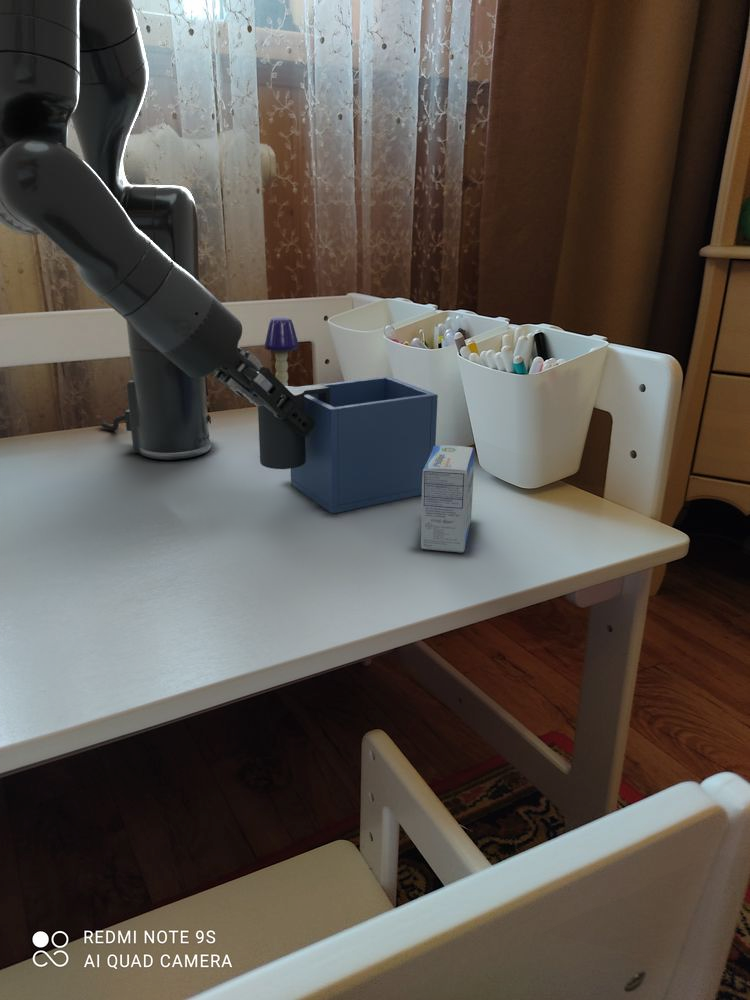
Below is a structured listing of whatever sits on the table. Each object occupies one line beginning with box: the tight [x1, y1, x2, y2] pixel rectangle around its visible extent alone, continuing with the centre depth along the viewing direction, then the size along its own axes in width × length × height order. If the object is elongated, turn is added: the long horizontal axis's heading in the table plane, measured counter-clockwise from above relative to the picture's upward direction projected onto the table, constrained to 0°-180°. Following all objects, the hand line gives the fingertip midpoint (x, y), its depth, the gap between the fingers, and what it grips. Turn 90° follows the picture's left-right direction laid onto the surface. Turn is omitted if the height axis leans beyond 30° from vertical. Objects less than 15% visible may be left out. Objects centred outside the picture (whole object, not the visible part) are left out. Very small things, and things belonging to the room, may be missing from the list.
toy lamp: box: [264, 317, 299, 386], centre depth 108 cm, size 5×5×17 cm
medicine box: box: [420, 444, 476, 554], centre depth 78 cm, size 8×4×9 cm, turn 168°
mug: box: [257, 383, 330, 470], centre depth 84 cm, size 8×5×8 cm, turn 121°
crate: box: [290, 375, 439, 515], centre depth 90 cm, size 14×11×12 cm
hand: (297, 423), depth 85 cm, fingers closed on mug, 5 cm apart
